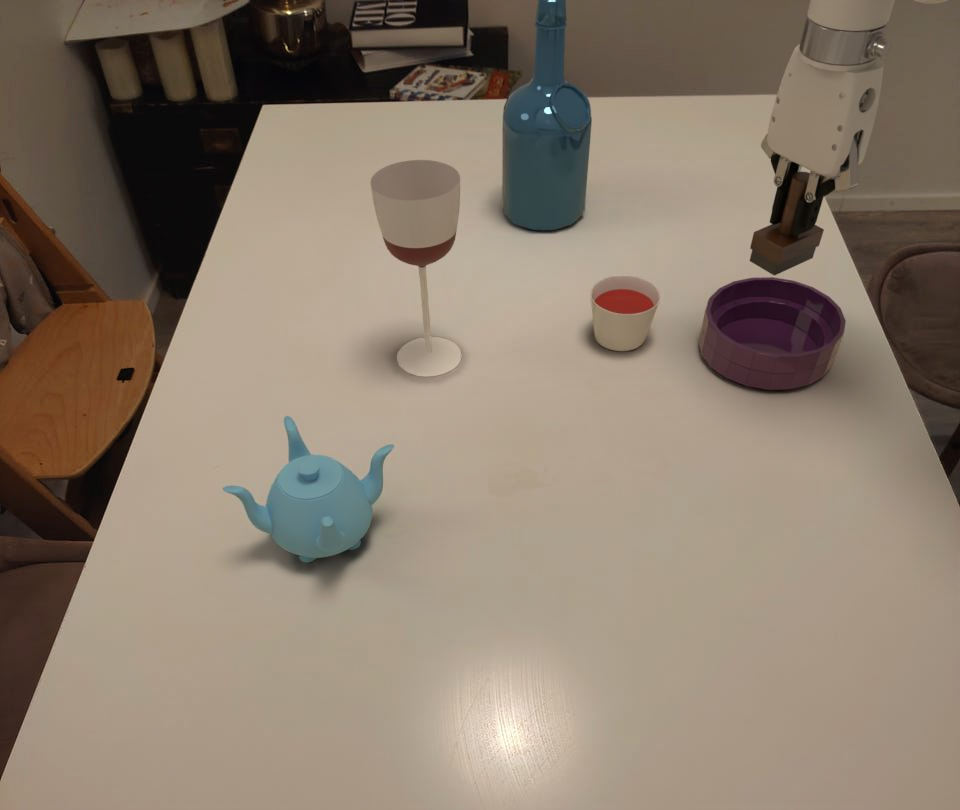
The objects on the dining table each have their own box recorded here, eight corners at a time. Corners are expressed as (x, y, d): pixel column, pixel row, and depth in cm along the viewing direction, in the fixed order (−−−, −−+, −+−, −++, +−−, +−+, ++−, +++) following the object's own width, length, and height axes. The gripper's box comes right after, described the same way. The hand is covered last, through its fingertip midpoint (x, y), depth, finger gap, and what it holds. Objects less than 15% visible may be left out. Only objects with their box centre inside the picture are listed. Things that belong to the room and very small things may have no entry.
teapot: (243, 555, 93) (218, 487, 85) (307, 478, 100) (289, 408, 92) (345, 592, 90) (329, 525, 82) (403, 509, 97) (394, 440, 89)
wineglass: (387, 340, 116) (366, 165, 97) (460, 331, 117) (452, 155, 98) (396, 382, 111) (375, 205, 92) (472, 372, 111) (466, 194, 93)
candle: (596, 312, 119) (600, 270, 114) (659, 324, 117) (667, 281, 112) (578, 350, 114) (582, 307, 109) (644, 362, 112) (651, 319, 107)
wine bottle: (484, 212, 135) (480, -17, 111) (543, 183, 141) (552, -42, 116) (544, 245, 129) (555, 10, 105) (604, 213, 134) (627, -17, 110)
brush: (787, 242, 103) (810, 160, 95) (815, 258, 101) (840, 175, 93) (746, 260, 101) (766, 178, 93) (774, 277, 99) (796, 193, 91)
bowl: (761, 299, 120) (772, 263, 115) (859, 360, 111) (874, 322, 107) (671, 344, 114) (678, 307, 110) (766, 411, 106) (778, 374, 101)
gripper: (936, 55, 80) (869, 245, 95) (805, 7, 88) (762, 189, 103) (882, 76, 78) (822, 267, 92) (753, 24, 86) (716, 208, 100)
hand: (791, 224), depth 97 cm, fingers closed on brush, 2 cm apart
